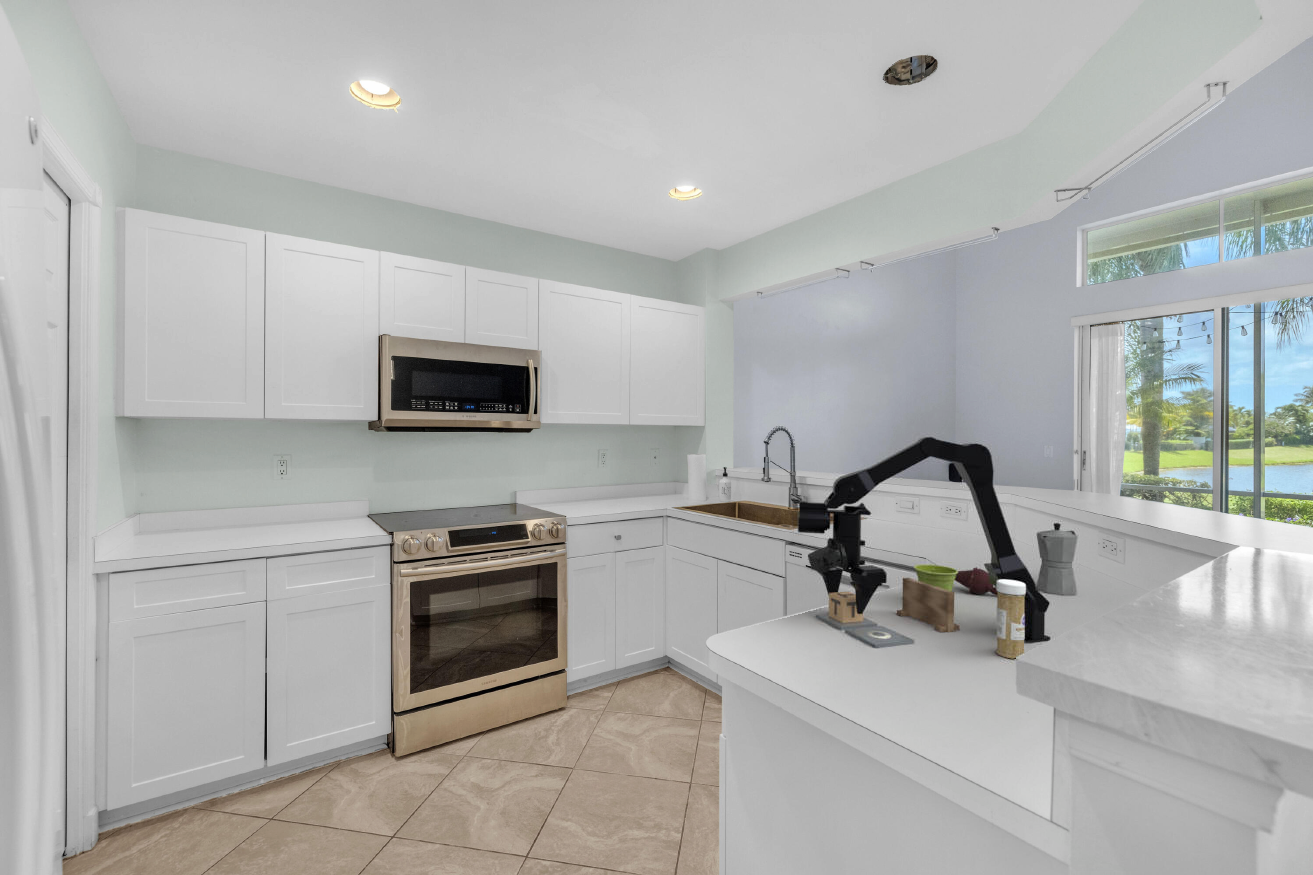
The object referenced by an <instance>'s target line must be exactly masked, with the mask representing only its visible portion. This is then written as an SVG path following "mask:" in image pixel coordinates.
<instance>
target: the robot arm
mask: <svg viewBox="0 0 1313 875" xmlns="http://www.w3.org/2000/svg"><path fill="white" fill-rule="evenodd" d="M928 458H934V459H935V458H936V459H939V460H942V461H947V462H950V463H953V465H954V467H955V469H956V470H957V472H958V474H959V476H960V477H961V478H962V480H963V481H964V483H965V484H966V485H967V487H968V489H969V491H970V494H971V497H972V500H973V503H974V506H975V509H976V511H977V512H976V513H977V514H978V518H979V521H980V524H981V527H982V531H983V532H984V536H985V538H986V539H985V540H986V542H987V545H988V548H989V550H990V554H991V555H990V556H991V557H990V563H988V562H987V563H984V564H983V565H984V568H985V569H986V570H985V571H986V572H987V573H988V574H989V582H990V583H991V584H993V587H996V585H997V580H1001V579H1006V580H1015V581H1020V582H1023V583H1024V584H1025V585H1026V594H1024V595H1025V597H1024V614H1025V639H1024V643H1034V642H1042V641H1049V640H1051V636H1048V635H1046V634H1045V628H1046V627H1045V623H1046V622H1045V621H1046V620H1045V618H1046V615H1045V614H1046V612H1047V611H1048V609H1049V606H1050V601H1049V600H1048V599H1047V598H1046V597H1045V596H1044V595H1043V594H1042V593H1041V592H1040V591H1039V590H1037V589H1036V587H1037V584H1036V582H1035V580H1034V578H1033V576H1032V574H1031V573H1030V572H1029V570H1028V567H1027V566H1026V565H1025V563H1024V562H1023V561H1022V559H1021V557H1020V556H1019V555H1018V553H1017V552H1016V549H1015V546H1014V543H1013V540H1012V537H1011V534H1010V532H1009V528H1008V525H1007V522H1006V519H1005V517H1004V513H1003V511H1002V507H1001V504H1000V502H999V501H1000V500H999V498H998V496H997V493H996V489H995V486H994V474H995V472H994V463H993V454H992V453H991V451H990V449H989V448H988V447H987V446H985V445H983V444H980V443H962V444H959V443H955V442H949V441H945V440H940V439H936V437H932V436H928V437H921V438H920V439H918V440H917V441H916V442H914V443H912V444H910V445H908V446H907V447H905V448H903V449H901V450H899V451H898V452H896V453H894V454H892V455H891V456H889V457H887V458H885V459H883V460H881V461H879V462H877V463H874V464H873V465H872V466H869V467H867V468H864V469H860V470H857V471H853V472H851V473H847V474H845V475H842V476H839V477H838V478H836V479H835V480H834V483H833V485H832V491H831V493H830V494H829V495H828V496H827V497H826V498H825V500H824V501H823V502H813V501H812V502H811V501H810V502H809V501H806V500H800V501H799V503H798V505H799V506H798V515H797V533H801V534H803V533H804V534H805V533H806V534H821V535H822V534H825V531H828V530H830V529H831V514H832V537H829V538H828V539H827V541H826V542H827V545H826V546H824V547H820V548H818V549H816V550H814V551H812V552H810V553H808V554H807V558H808V561H809V565H810V568H811V570H812V571H816V572H817V573H818V574H819V575H820V576H821V577H822V579H823V582H824V585H825V588H826V592H827V595H828V596H829V593H836V592H839V590H840V585H841V581H842V577H843V572H846V573H847V574H849V575H850V576H849V577H850V578H851V581H850V582H849V583H850V584H851V586H852V587H853V589H854V590H855V591H854V592H855V593H854V594H855V595H856V609H857V614H863V615H864V612H865V610H866V608H867V606H868V604H869V602H870V601H871V598H872V597H873V596H874V594H875V592H876V591H877V589H878V588H879V587H882V586H883V584H887V574H888V573H887V572H886V571H885V569H883V568H881V567H878V566H876V565H875V566H874V565H873V564H872V565H866V560H865V559H862V558H861V557H862V556H861V554H862V552H861V548H862V546H863V547H864V546H866V540H863V539H862V538H861V537H862V516H871V514H872V512H871V511H870V510H869V509H867V507H866V506H865V505H866V504H864V503H863V502H860V503H859V504H858V505H853V504H856V503H858V502H859V501H860V500H862V499H863V498H864V497H865V496H867V495H868V494H869V493H870V492H871V491H872V490H873V489H875V488H876V487H877V486H879V485H880V484H881V483H882V482H884V481H887V480H888V479H890V478H892V477H894V476H896V475H898V474H900V473H902V472H903V471H905V470H907V469H909V468H911V467H913V466H915V465H917V464H919V463H920V462H922V461H925V460H926V459H928ZM845 504H846V505H845ZM843 505H844V506H843ZM841 506H843V509H839V508H840V507H841Z"/></svg>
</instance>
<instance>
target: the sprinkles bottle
mask: <svg viewBox="0 0 1313 875" xmlns="http://www.w3.org/2000/svg"><path fill="white" fill-rule="evenodd" d="M996 590H997V594H998V595H997V596H996V598H997V600H996V602H997V603H996V604H997V606H996V637H997V638H996V650H995V652H996V654H997V655H999V656H1001V657H1004V658H1005V659H1006V658H1007V659H1012V660H1016V659H1015V658H1016V657H1018V656H1019V655H1021V654H1023V653H1024V654H1025V642H1024V639H1025V614H1024V597H1025V595H1024V594H1026V585H1025V584H1024V583H1023V582H1020V581H1015V580H1006V579H1001V580H997V585H996Z"/></svg>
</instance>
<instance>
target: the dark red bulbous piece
mask: <svg viewBox="0 0 1313 875" xmlns="http://www.w3.org/2000/svg"><path fill="white" fill-rule="evenodd" d="M957 571H958V573H957V574H956V577H955V579H954V581H955V582H957V583H958V584H959V585H962V586H963V587H965V588H967V589H969V591H968V592H969V594H973V593H974V594H976V595H986V594H988V593H991V594H992V595H994V596H996V597H997V595H998V594H997V590H996V587H995V586H994V585H993V584H991V583H990V582H989V574H988V571H987V570H984V569H981V568H978V567H973V568H972V569H969V570H968V569H967V570H957Z"/></svg>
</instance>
